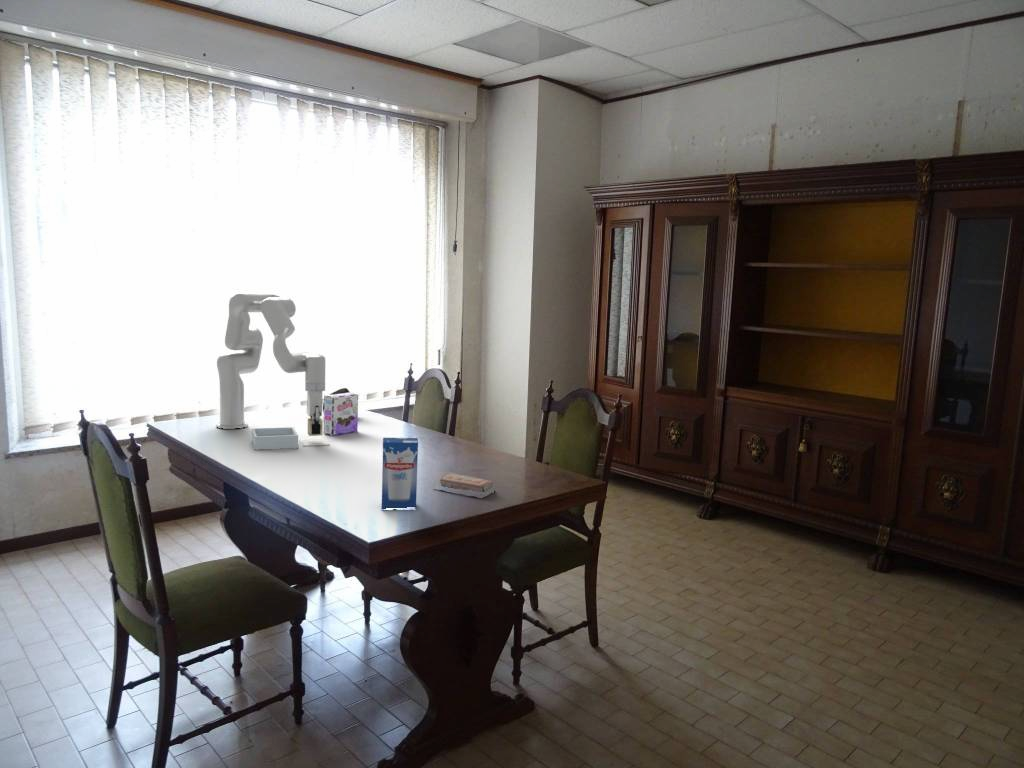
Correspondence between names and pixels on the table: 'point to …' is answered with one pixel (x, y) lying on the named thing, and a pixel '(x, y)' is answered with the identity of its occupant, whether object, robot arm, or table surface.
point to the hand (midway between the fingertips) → (315, 432)
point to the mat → (314, 442)
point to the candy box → (340, 413)
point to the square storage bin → (274, 438)
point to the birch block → (311, 427)
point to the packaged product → (465, 482)
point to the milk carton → (399, 472)
